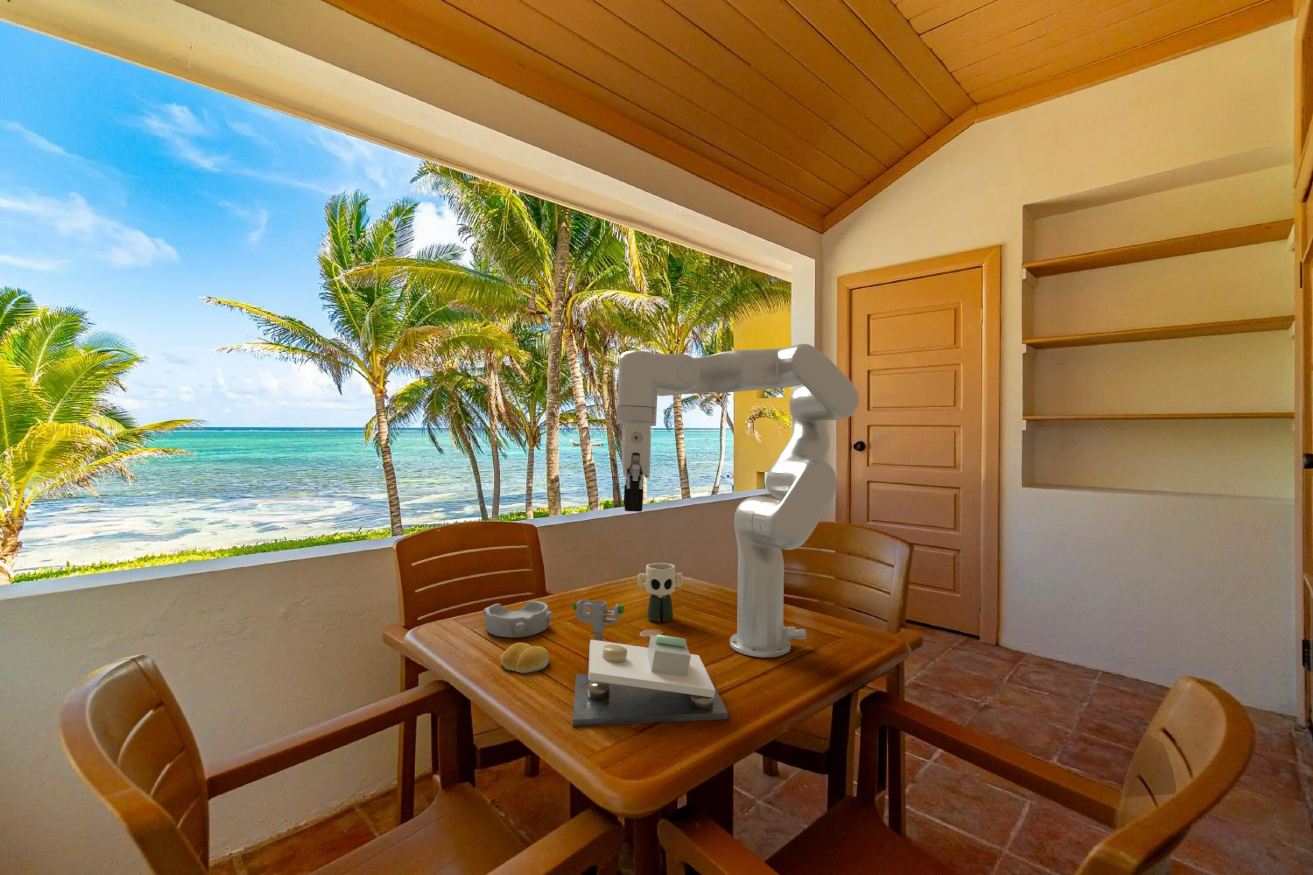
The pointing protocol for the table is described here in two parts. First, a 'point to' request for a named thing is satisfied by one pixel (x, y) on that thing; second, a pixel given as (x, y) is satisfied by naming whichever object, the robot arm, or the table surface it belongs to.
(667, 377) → the robot arm
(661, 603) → the character mug
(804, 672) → the table surface
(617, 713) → the dark grey rectangular slab
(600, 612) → the mechanical component
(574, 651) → the table surface
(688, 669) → the levelling plate
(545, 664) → the bread roll
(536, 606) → the dish
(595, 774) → the table surface
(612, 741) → the table surface
